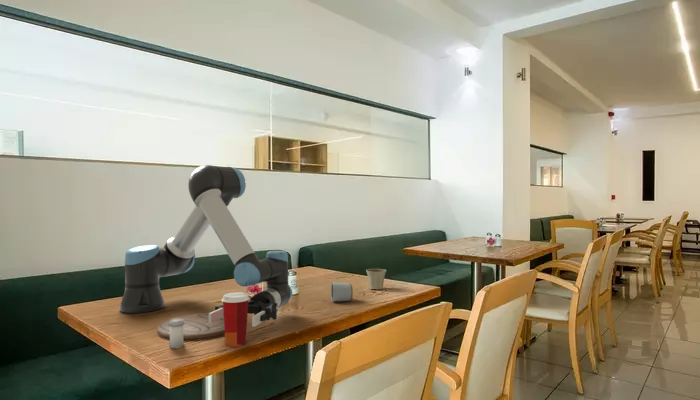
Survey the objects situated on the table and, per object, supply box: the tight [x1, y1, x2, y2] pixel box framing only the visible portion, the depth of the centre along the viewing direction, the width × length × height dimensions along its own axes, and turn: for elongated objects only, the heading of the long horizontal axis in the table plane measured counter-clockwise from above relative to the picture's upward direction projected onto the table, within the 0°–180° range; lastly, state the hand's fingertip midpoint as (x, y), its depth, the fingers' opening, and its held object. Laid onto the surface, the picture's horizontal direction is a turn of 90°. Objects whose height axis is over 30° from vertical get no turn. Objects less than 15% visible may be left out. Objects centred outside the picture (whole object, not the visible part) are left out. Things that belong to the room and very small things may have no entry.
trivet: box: [157, 312, 225, 341], centre depth 138 cm, size 25×25×2 cm
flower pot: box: [365, 268, 387, 290], centre depth 197 cm, size 9×9×9 cm
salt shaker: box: [169, 319, 185, 349], centre depth 120 cm, size 4×4×7 cm
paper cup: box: [220, 291, 250, 348], centre depth 122 cm, size 8×8×14 cm
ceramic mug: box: [330, 281, 354, 303], centre depth 175 cm, size 11×8×8 cm
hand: (231, 319), depth 120 cm, fingers open, 13 cm apart
